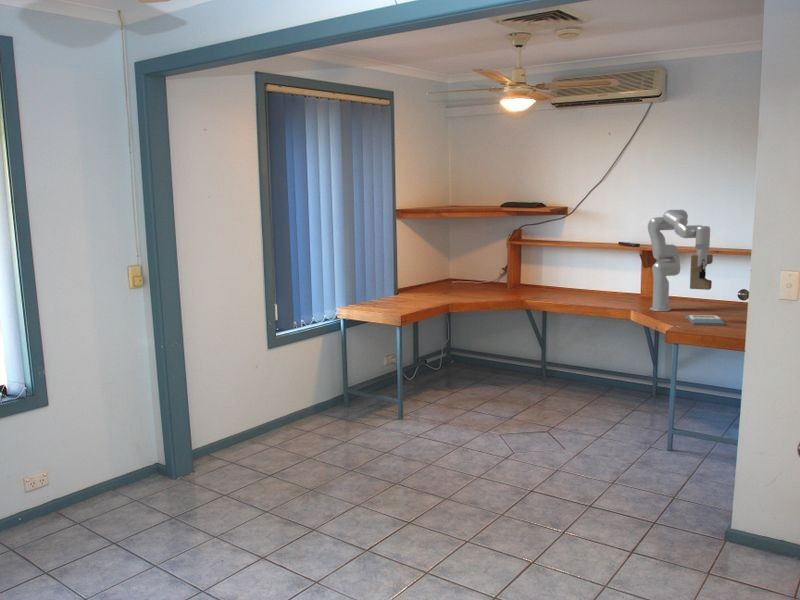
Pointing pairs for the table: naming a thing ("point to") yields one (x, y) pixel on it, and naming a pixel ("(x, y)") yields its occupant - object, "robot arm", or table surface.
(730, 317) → the table surface
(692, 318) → the board
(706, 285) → the decorative block
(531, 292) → the table surface
